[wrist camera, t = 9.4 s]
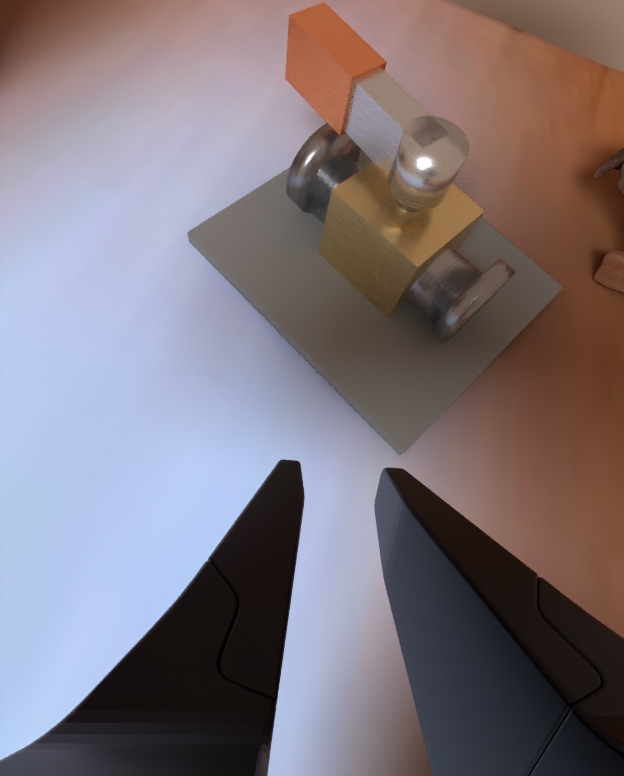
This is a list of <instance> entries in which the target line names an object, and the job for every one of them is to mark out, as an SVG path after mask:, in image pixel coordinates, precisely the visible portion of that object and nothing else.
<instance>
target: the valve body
mask: <svg viewBox="0 0 624 776" xmlns="http://www.w3.org/2000/svg"><path fill="white" fill-rule="evenodd" d="M360 151H361V148H360V147H359V146H358V145H357V144H356V143H355V142H354V141H353V140H352V139H351V138H350V137H349V136H348V135H347V133H345V134H343V135H341V136H339V135H338V133H337V132H336V131H335V130H334V129H333V128H332V127H331V126H330V125H329V124H328V123H327V124H325V125H324V126H322V127H321V128H319V129H318V130H317V131H316V132H315V133H314V134H312V135H311V136H310V138H309V139H308V140H307V141H306V142H305V144H304V145H303V146H302V148H301V149H300V151H299V152H298V154H297V155H296V157H295V159H294V161H293V163H292V165H291V168H290V170H289V173H288V177H287V182H286V192H287V195H288V197H289V199H290V200H291V201H292V202H294V203H295V204H296V205H297V206H298V207H299V208H300V209H301V210H302V211H303V212H306V213H312V214H313V215H314V216H315V217H316V218H317V219H318V220H320V221H321V222H322V223H323V224H324V229H323V234H322V239H321V243H320V248H319V254H320V255H321V256H322V257H323V258H324V259H325V260H326V261H327V262H329V263H330V264H331V265H332V266H333V267H334V268H335V269H336V270H337V271H338V272H339V273H340V274H341V275H342V276H343V277H344V278H345V279H346V280H348V281H349V282H350V283H351V284H352V285H353V286H354V287H355V288H356V289H357V290H358V291H359V292H360V293H361V294H362V295H363V296H364V297H365V298H366V299H368V300H369V301H370V302H371V303H372V304H373V305H374V306H375V307H376V308H377V309H378V310H379V311H380V312H381V313H382V314H383V315H384V316H385V317H387V318H389V317H390V316H391V315H392V314H394V313H395V312H396V311H397V310H398V309H399V308H400V307H402V306H403V305H404V304H405V303H406V302H408V303H409V304H410V305H411V306H412V307H413V308H414V309H415V310H416V311H417V312H418V313H420V314H421V315H422V316H423V317H424V318H425V319H426V320H427V321H428V322H429V323H430V324H431V325H432V326H433V327H432V328H431V331H432V332H433V333H434V334H435V335H436V336H437V337H438V338H439V339H440V340H441V341H442V342H443V343H446V342H447V341H448V340H449V339H450V338H451V337H453V336H454V335H455V334H456V333H457V332H458V331H459V330H460V329H461V328H462V327H463V326H464V325H465V324H466V323H467V322H468V321H469V320H470V319H471V318H472V317H473V316H474V315H475V314H476V313H477V312H478V311H479V310H480V309H481V308H482V307H483V306H484V305H485V304H486V303H487V302H488V301H489V300H490V299H491V298H492V297H493V296H494V295H495V294H496V293H497V292H498V291H499V290H500V289H501V288H502V287H503V286H504V285H505V284H506V283H507V282H508V281H509V280H510V279H511V278H512V277H513V276H514V275H515V273H516V271H515V270H513V269H512V268H511V267H510V266H509V265H508V264H507V263H505V262H504V261H503V260H502V259H499V260H497V261H496V262H495V263H494V264H493V265H491V266H490V267H489V268H488V269H487V270H486V271H485V272H484V273H482V272H481V271H480V270H479V269H478V268H477V267H475V266H474V265H473V264H472V263H471V262H470V261H469V260H467V259H466V258H465V257H464V256H463V255H462V254H461V253H460V252H458V249H459V248H460V246H461V245H462V244H463V242H464V241H465V239H466V238H467V236H468V235H469V233H470V232H471V231H472V229H473V228H474V226H475V225H476V223H477V222H478V220H479V219H480V217H481V216H482V215H483V213H484V212H485V210H484V209H482V208H481V207H480V206H479V205H478V204H477V203H475V202H474V201H473V200H472V199H471V198H469V197H468V196H467V195H466V194H465V193H464V192H462V191H461V190H460V189H459V188H458V187H456V186H455V185H454V184H453V183H452V184H451V186H450V188H449V190H448V192H447V194H446V196H445V197H444V199H443V201H442V202H441V203H440V204H439V205H438V206H437V207H435V208H432V209H429V210H415V209H411V208H408V207H406V206H404V205H402V204H400V203H399V202H398V201H397V200H395V199H394V197H393V196H392V195H391V193H390V192H389V189H388V186H387V177H388V176H387V175H386V174H385V173H384V172H383V171H382V170H381V169H380V168H379V167H378V166H377V165H376V164H375V163H374V162H372V163H370V164H369V165H367V166H366V167H364V168H363V167H362V166H361V165H359V164H358V163H357V162H358V159H359V156H360Z"/></svg>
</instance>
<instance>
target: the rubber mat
mask: <svg viewBox="0 0 624 776" xmlns="http://www.w3.org/2000/svg"><path fill="white" fill-rule="evenodd" d="M372 162H373V160H372V159H371V158H370V157H369V156H368V155H367V154H366V153H365V152H364V151H363V150H362V149H361V151H360V156H359V159H358V162H357V163H358V164H359V165H361V166H362V167H363V168H364V167H366V166H367V165H369V164H370V163H372ZM290 168H291V167H290ZM290 168H289V169H287V170H285V171H284V172H282V173H281V174H279V175H277V176H276V177H274V178H273V179H271V180H270V181H268V182H266V183H265V184H263V185H262V186H260V187H258V188H257V189H255V190H254V191H252V192H251V193H249V194H247V195H246V196H244V197H243V198H241V199H239V200H238V201H236V202H235V203H233V204H232V205H230V206H228V207H227V208H225V209H224V210H222V211H220V212H219V213H217V214H216V215H214V216H213V217H211V218H209V219H208V220H206V221H205V222H203V223H201V224H200V225H198V226H197V227H195V228H194V229H192V230H190V231H189V232H187V233H188V237H189V242H190V243H191V244H192V245H193V246H194V247H195V248H196V249H197V250H198V251H199V252H200V253H201V254H202V255H203V256H204V257H205V258H206V259H207V260H208V261H209V262H210V263H211V264H212V265H213V266H214V267H215V268H216V269H217V270H218V271H219V272H220V273H221V274H222V275H223V276H224V277H225V278H226V279H227V280H228V281H229V282H230V283H231V284H232V285H233V286H234V287H235V288H236V289H237V290H238V291H239V292H240V293H241V294H242V295H243V296H244V297H245V299H246V300H247V301H248V302H249V303H250V304H251V305H252V306H253V307H254V308H255V309H256V310H257V311H258V312H259V313H260V314H261V315H262V316H263V317H264V318H265V319H266V320H267V321H268V322H269V323H270V324H271V325H272V326H273V327H274V328H275V329H276V330H277V331H278V332H279V333H280V334H281V335H282V336H283V337H284V338H285V339H286V340H287V341H288V342H289V343H290V344H291V345H292V346H293V347H294V348H295V349H296V350H297V351H298V352H299V353H300V354H301V355H302V356H303V357H304V358H305V359H306V360H307V361H308V362H309V363H310V364H311V365H312V366H313V367H314V369H315V370H316V371H317V372H318V373H319V374H320V375H321V376H322V377H323V378H324V379H325V380H326V381H327V382H328V383H329V384H330V385H331V386H332V387H333V388H334V389H335V390H336V391H337V392H338V393H339V394H340V395H341V396H342V397H343V398H344V399H345V400H346V401H347V402H348V403H349V404H350V405H351V406H352V407H353V408H354V409H355V410H356V411H357V412H358V413H359V414H360V415H361V416H362V417H363V418H364V419H365V420H366V421H367V422H368V423H369V424H370V425H371V426H372V427H373V428H374V429H375V430H376V431H377V432H378V433H379V434H380V435H381V436H382V438H383V439H384V440H385V441H386V442H387V443H388V444H389V445H390V446H391V447H392V448H393V449H394V450H395V451H396V452H397V453H398V454H399V455H401V454H402V453H404V452H405V451H406V450H407V449H408V448H409V447H410V446H411V445H412V444H413V443H414V442H415V441H416V440H417V439H418V438H419V437H420V436H421V435H422V434H423V433H424V431H425V430H426V429H427V428H428V427H429V426H430V425H431V424H432V423H433V422H434V421H435V420H436V419H437V418H438V417H439V416H440V415H441V414H442V413H443V412H444V411H445V410H446V409H447V408H448V407H449V406H450V405H451V404H452V402H453V401H454V400H455V399H456V398H457V397H458V396H459V395H460V394H461V393H462V392H463V391H464V390H465V389H466V388H467V387H468V386H469V385H470V384H471V383H472V382H473V381H474V380H475V379H476V378H477V377H478V376H479V375H480V373H481V372H482V371H483V370H484V369H485V368H486V367H487V366H488V365H489V364H490V363H491V362H492V361H493V360H494V359H495V358H496V357H497V356H498V355H499V354H500V353H501V352H502V351H503V350H504V349H505V348H506V347H507V346H508V344H509V343H510V342H511V341H512V340H513V339H514V338H515V337H516V336H517V335H518V334H519V333H520V332H521V331H522V330H523V329H524V328H525V327H526V326H527V325H528V324H529V323H530V322H531V321H532V320H533V319H534V318H535V317H536V316H537V314H538V313H539V312H540V311H541V310H542V309H543V308H544V307H545V306H546V305H547V304H548V303H549V302H550V301H551V300H552V299H553V298H554V297H555V296H556V295H557V294H558V293H559V292H560V291H561V290H562V289H563V288H564V287H563V286H562V285H560V284H559V283H558V282H557V281H556V280H554V279H553V278H552V277H551V276H550V275H549V274H547V273H546V272H545V271H544V270H543V269H542V268H540V267H539V266H538V265H537V264H536V263H535V262H533V261H532V260H531V259H530V258H529V257H527V256H526V255H525V254H524V253H523V252H522V251H520V250H519V249H518V248H517V247H516V246H515V245H513V244H512V243H511V242H510V241H509V240H508V239H506V238H505V237H504V236H503V235H502V234H500V233H499V232H498V231H497V230H496V229H495V228H493V227H492V226H491V225H490V224H489V223H488V222H486V221H485V220H484V219H483V218H482V217H480V219H479V220H478V222H477V223H476V225H475V226H474V228H473V229H472V231H471V232H470V233H469V235H468V236H467V238H466V239H465V241H464V242H463V244H462V245H461V246H460V248H459V249H458V252H460V253H461V254H462V255H463V256H464V257H465V258H466V259H467V260H469V261H470V262H471V263H472V264H473V265H474V266H475V267H477V268H478V269H479V270H480V271H481V272H482V273H484V272H485V271H486V270H487V269H488V268H489V267H490V266H491V265H493V264H494V263H495V262H496V261H497V260H499V259H502V260H503V261H504V262H505V263H507V264H508V265H509V266H510V267H511V268H512V269H513V270H515V271H516V273H515V275H514V276H513V277H512V278H511V279H510V280H509V281H508V282H507V283H506V284H505V285H504V286H503V287H502V288H501V289H500V290H499V291H498V292H497V293H496V294H495V295H494V296H493V297H492V298H491V299H490V300H489V301H488V302H487V303H486V304H485V305H484V306H483V307H482V308H481V309H480V310H479V311H478V312H477V313H476V314H475V315H474V316H473V317H472V318H471V319H470V320H469V321H468V322H467V323H466V324H465V325H464V326H463V327H462V328H461V329H460V330H459V331H458V332H457V333H456V334H455V335H454V336H453V337H451V338H450V339H449V340H448V341H447V342H446V343H443V342H442V341H441V340H440V339H439V338H438V337H437V336H436V335H435V334H434V333H433V332H432V331H431V328H432V327H433V326H432V325H431V324H430V323H429V322H428V321H427V320H426V319H425V318H424V317H423V316H422V315H421V314H420V313H418V312H417V311H416V310H415V309H414V308H413V307H412V306H411V305H410V304H409V303H408V302H406V303H405V304H404V305H403V306H402V307H400V308H399V309H398V310H397V311H396V312H395V313H394V314H392V315H391V316H390V317H389V318H387V317H385V316H384V315H383V314H382V313H381V312H380V311H379V310H378V309H377V308H376V307H375V306H374V305H373V304H372V303H371V302H370V301H369V300H368V299H366V298H365V297H364V296H363V295H362V294H361V293H360V292H359V291H358V290H357V289H356V288H355V287H354V286H353V285H352V284H351V283H350V282H349V281H348V280H346V279H345V278H344V277H343V276H342V275H341V274H340V273H339V272H338V271H337V270H336V269H335V268H334V267H333V266H332V265H331V264H330V263H329V262H327V261H326V260H325V259H324V258H323V257H322V256H321V255H320V254H319V248H320V243H321V239H322V234H323V229H324V224H323V223H322V222H321V221H320V220H318V219H317V218H316V217H315V216H314V215H313V214H312V213H306V212H303V211H302V210H301V209H300V208H299V207H298V206H297V205H296V204H295V203H294V202H292V201H291V200H290V199H289V197H288V195H287V192H286V182H287V177H288V173H289V170H290Z"/></svg>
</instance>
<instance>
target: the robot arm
mask: <svg viewBox="0 0 624 776" xmlns="http://www.w3.org/2000/svg"><path fill="white" fill-rule="evenodd" d="M303 508H304V487H303V480H302V472H301V465H300V462H299V461H294V460H280V461H279V462H278V463H277V465H276V466H275V467H274V469H273V470H272V472H271V473H270V474H269V476H268V477H267V478H266V480H265V481H264V483H263V484H262V485H261V487H260V488H259V489H258V491H257V492H256V494H255V495H254V496H253V498H252V499H251V500H250V502H249V503H248V505H247V506H246V507H245V509H244V510H243V511H242V513H241V514H240V516H239V517H238V518H237V520H236V521H235V522H234V524H233V525H232V527H231V528H230V529H229V531H228V532H227V533H226V535H225V536H224V538H223V539H222V540H221V542H220V543H219V544H218V546H217V547H216V549H215V550H214V551H213V553H212V554H211V555H210V557H209V558H208V561H206V562H205V563H204V565H203V566H202V567H201V569H200V570H199V572H198V573H197V574H196V576H195V577H194V578H193V580H192V581H191V582H190V583H189V585H188V586H187V587H186V589H185V590H184V591H183V592H182V594H181V595H180V596H179V597H178V599H177V600H176V601H175V602H174V603H173V604H172V606H171V607H170V608H169V609H168V610H167V611H166V612H165V613H164V614H163V616H162V617H161V618H160V619H159V620H158V621H157V622H156V623H155V625H154V626H153V627H152V628H151V629H150V630H149V631H148V632H147V633H146V634H145V635H144V636H143V637H142V638H141V639H140V640H139V642H138V643H137V644H136V645H135V646H134V647H133V648H132V649H131V650H130V651H129V652H128V653H127V654H126V655H125V656H124V657H123V658H122V659H121V661H120V662H119V663H118V664H117V665H116V666H115V667H114V668H113V669H112V670H111V671H110V672H109V673H108V674H107V675H106V676H105V677H104V678H103V680H102V681H101V682H100V683H99V684H98V685H97V686H96V687H95V688H94V689H93V690H92V691H91V692H90V693H89V694H88V695H87V696H86V697H85V699H84V700H83V701H82V702H81V703H80V704H79V705H78V706H77V707H76V708H75V709H74V710H73V711H72V712H71V713H69V714H68V715H67V716H66V717H65V718H64V719H63V720H62V721H60V722H59V723H58V724H57V725H56V726H54V727H53V728H52V729H51V730H49V731H48V732H47V733H46V734H44V735H43V736H41V737H40V738H39V739H37V740H36V741H34V742H33V743H31V744H30V745H28V746H26V747H25V748H23V749H21V750H19V751H17V752H15V753H14V754H12V755H10V756H8V757H6V758H4V759H2V760H0V776H267V774H268V766H269V758H270V750H271V742H272V734H273V727H274V719H275V712H276V704H277V698H278V690H279V683H280V676H281V668H282V661H283V654H284V647H285V639H286V632H287V625H288V617H289V610H290V603H291V596H292V588H293V581H294V574H295V566H296V559H297V552H298V545H299V537H300V530H301V523H302V515H303ZM375 517H376V525H377V532H378V540H379V548H380V555H381V563H382V570H383V576H384V581H385V586H386V590H387V594H388V598H389V602H390V606H391V610H392V614H393V618H394V622H395V626H396V630H397V634H398V638H399V642H400V646H401V650H402V654H403V658H404V662H405V666H406V670H407V674H408V678H409V682H410V686H411V690H412V694H413V698H414V702H415V706H416V710H417V714H418V718H419V722H420V726H421V730H422V734H423V738H424V742H425V746H426V750H427V754H428V758H429V762H430V766H431V770H432V774H433V776H624V639H623V638H622V637H621V636H619V635H618V634H616V633H615V632H614V631H612V630H611V629H609V628H608V627H607V626H605V625H604V624H602V623H601V622H600V621H598V620H597V619H595V618H594V617H593V616H591V615H590V614H588V613H587V612H586V611H585V610H583V609H582V608H581V607H579V606H578V605H577V604H575V603H574V602H573V601H571V600H570V599H569V598H567V597H566V596H565V595H563V594H562V593H561V592H560V591H558V590H557V589H556V588H554V587H553V586H552V585H551V584H549V583H548V582H547V581H546V580H544V579H543V578H542V577H539V578H538V575H537V574H536V573H535V572H534V571H533V570H531V569H530V568H529V567H528V566H526V565H525V564H524V563H523V562H521V561H520V560H519V559H517V558H516V557H515V556H514V555H512V554H511V553H510V552H509V551H507V550H506V549H505V548H503V547H502V546H501V545H500V544H498V543H497V542H496V541H495V540H493V539H492V538H491V537H489V536H488V535H487V534H486V533H484V532H483V531H482V530H481V529H479V528H478V527H477V526H475V525H474V524H473V523H472V522H470V521H469V520H468V519H467V518H465V517H464V516H463V515H461V514H460V513H459V512H458V511H456V510H455V509H454V508H453V507H451V506H450V505H449V504H447V503H446V502H445V501H444V500H442V499H441V498H440V497H439V496H437V495H436V494H435V493H433V492H432V491H431V490H430V489H428V488H427V487H426V486H425V485H423V484H422V483H421V482H419V481H418V480H417V479H416V478H414V477H413V476H412V475H411V474H409V473H408V472H407V471H405V470H404V469H400V468H385V469H383V471H382V473H381V477H380V481H379V485H378V489H377V494H376V498H375Z"/></svg>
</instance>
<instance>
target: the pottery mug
mask: <svg viewBox="0 0 624 776" xmlns="http://www.w3.org/2000/svg"><path fill="white" fill-rule="evenodd" d="M613 168H614V169H616V170H621V172H620V180H619V182H618V189H619V190H620V191H621V192H622V194H623V195H624V149H622V150H620V151H619V152H618V153H616V154H614V155H612V156H611V157H609V158H607V159H606V160H605V161H604V162H603V163H602V164H601V165H600V167H599V168H598V169H597V170H596V172H595V173H594V175H593V178H594V179H598V178H600V177H601V176H602V175H603V174H605V173H606V172H608V171H609V170H611V169H613ZM593 280H594V281H596V282H598V283H600V284H601V285H603V286H605V287H608V288H611V289H612V290H616V291H620V292H622V293H624V252H621V251H619V250H617V249H611V250H609V251H608V252H607V254H606V255H605V257H604V258H603V261H602V264H601V265H600V267H599V268H598V269H597V271H596V273H595V274H594V276H593Z"/></svg>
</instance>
